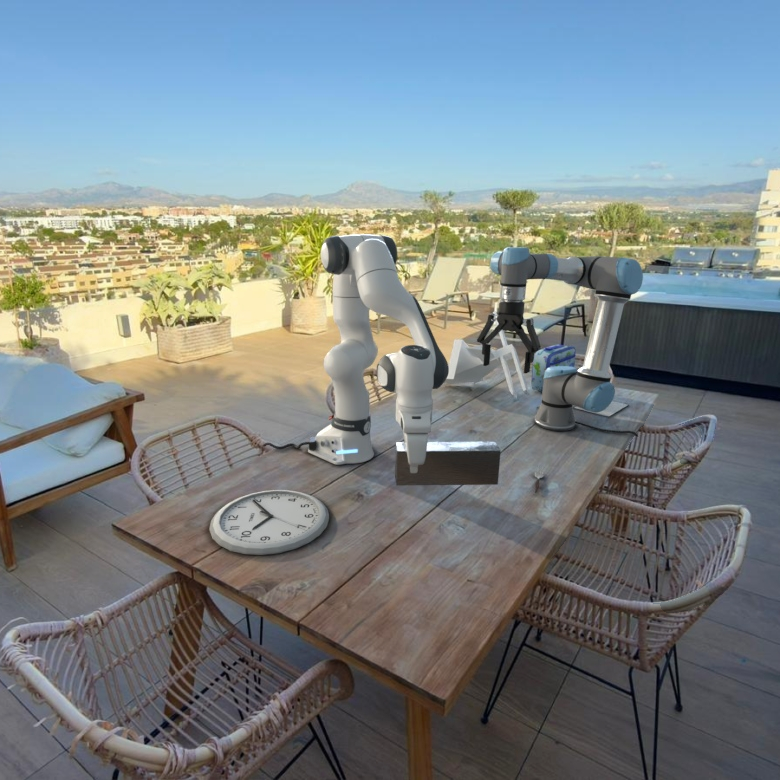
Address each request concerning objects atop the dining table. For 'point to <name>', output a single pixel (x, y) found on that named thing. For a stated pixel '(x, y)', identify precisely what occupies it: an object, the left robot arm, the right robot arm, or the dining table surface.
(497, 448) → the bar
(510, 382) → the white plastic object
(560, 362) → the lunch box
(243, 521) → the wall clock
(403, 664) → the dining table surface
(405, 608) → the dining table surface
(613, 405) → the invitation card
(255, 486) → the dining table surface
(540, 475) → the fork
